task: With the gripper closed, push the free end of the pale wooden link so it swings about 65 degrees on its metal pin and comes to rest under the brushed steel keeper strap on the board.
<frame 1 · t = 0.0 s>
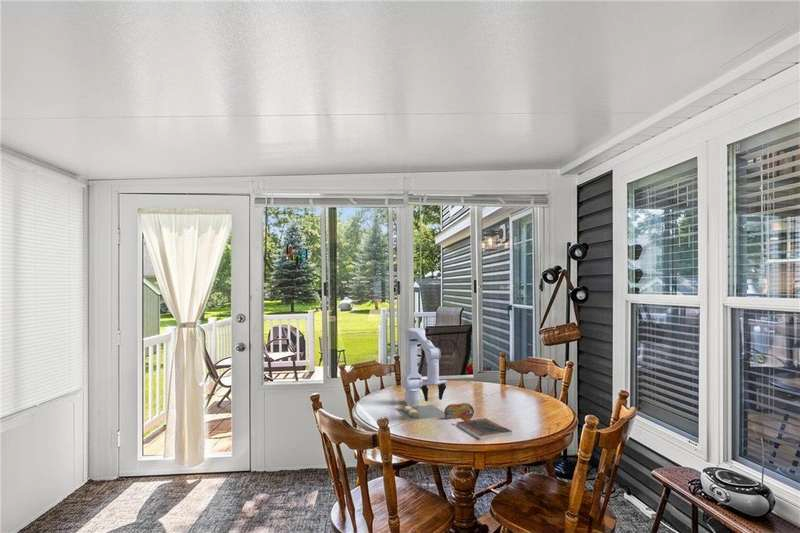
hand: (433, 400, 221), 10 cm above the table, tool pointing down, fingers open, 7 cm apart
tin: (458, 421, 220), on the table
picture frame: (483, 432, 206), on the table
link: (410, 409, 229), point 3 cm above the table, hinge at 0.0°
keeper: (416, 409, 234), resting on board
board: (421, 415, 230), on the table
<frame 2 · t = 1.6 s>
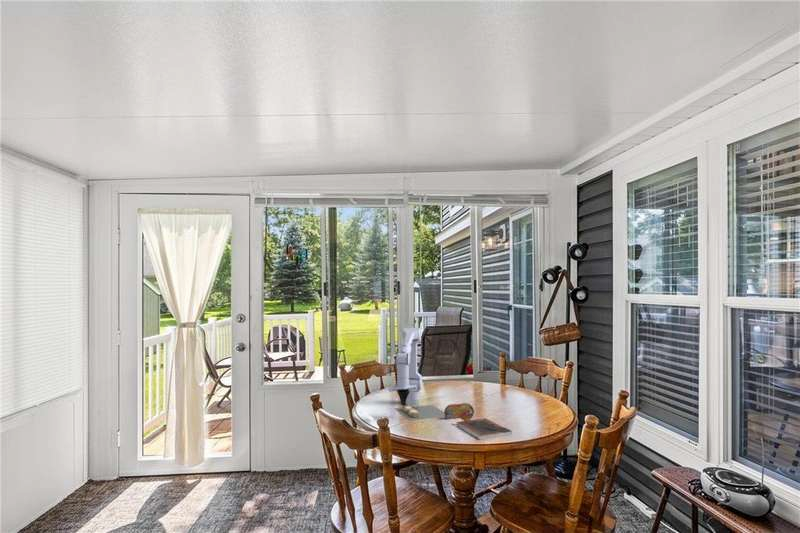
hand: (403, 404, 221), 8 cm above the table, tool pointing down, fingers closed
nothing on the table moved.
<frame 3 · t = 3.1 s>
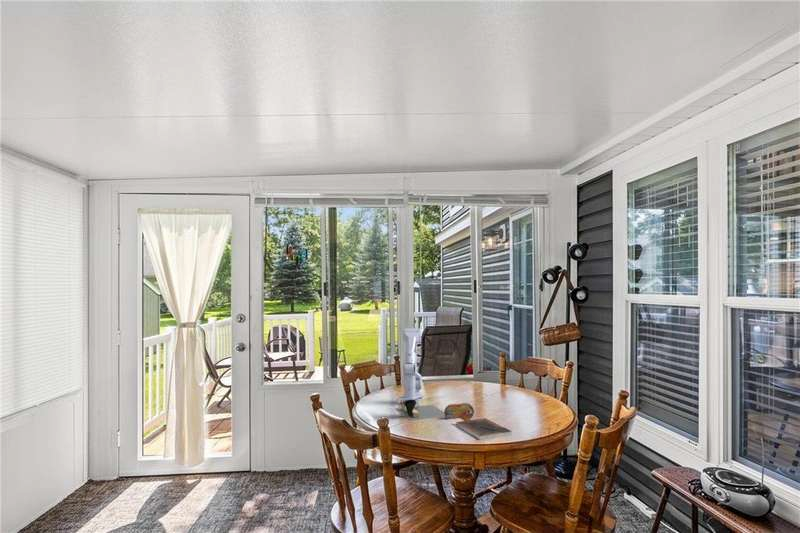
hand: (409, 415, 222), 2 cm above the table, tool pointing down, fingers closed
link: (410, 409, 229), point 3 cm above the table, hinge at 0.6°, touching gripper
everything else where it was.
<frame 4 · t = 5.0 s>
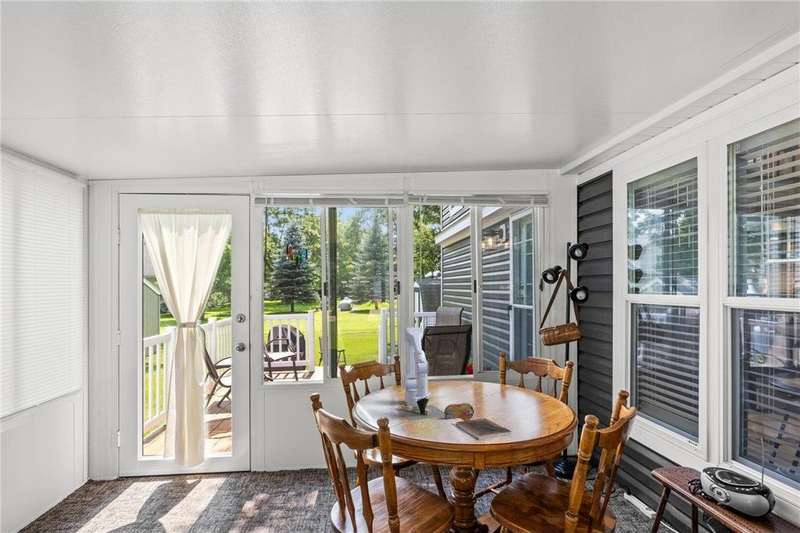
hand: (422, 413, 225), 2 cm above the table, tool pointing down, fingers closed
link: (415, 408, 231), point 3 cm above the table, hinge at 31.7°, touching gripper
everything else where it was.
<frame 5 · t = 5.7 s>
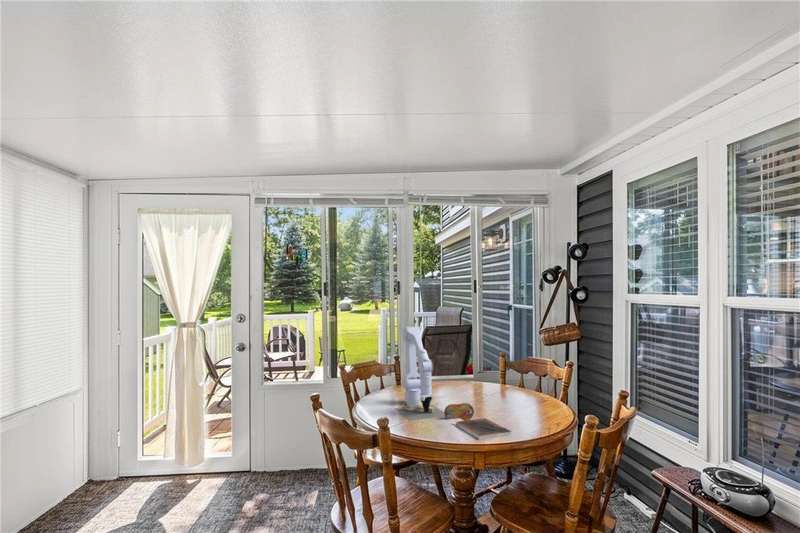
hand: (426, 411, 228), 2 cm above the table, tool pointing down, fingers closed
link: (417, 407, 232), point 3 cm above the table, hinge at 49.1°, touching gripper
everything else where it was.
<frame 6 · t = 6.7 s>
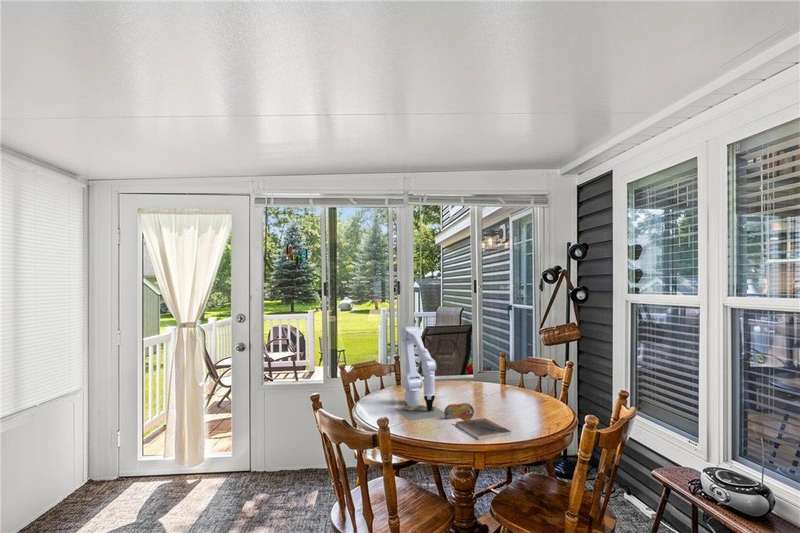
hand: (429, 410, 231), 2 cm above the table, tool pointing down, fingers closed
link: (418, 406, 234), point 3 cm above the table, hinge at 65.8°, touching gripper
everything else where it was.
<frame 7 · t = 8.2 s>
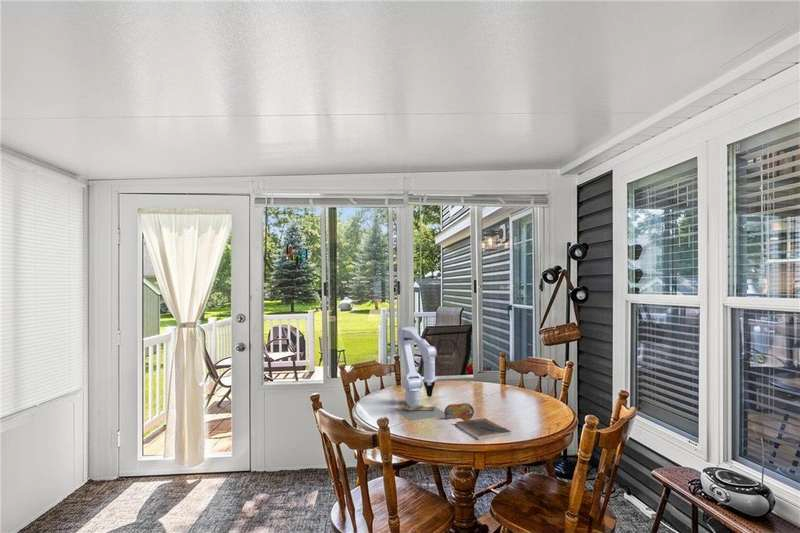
hand: (429, 396, 232), 9 cm above the table, tool pointing down, fingers closed
link: (418, 406, 234), point 3 cm above the table, hinge at 66.1°
everything else where it was.
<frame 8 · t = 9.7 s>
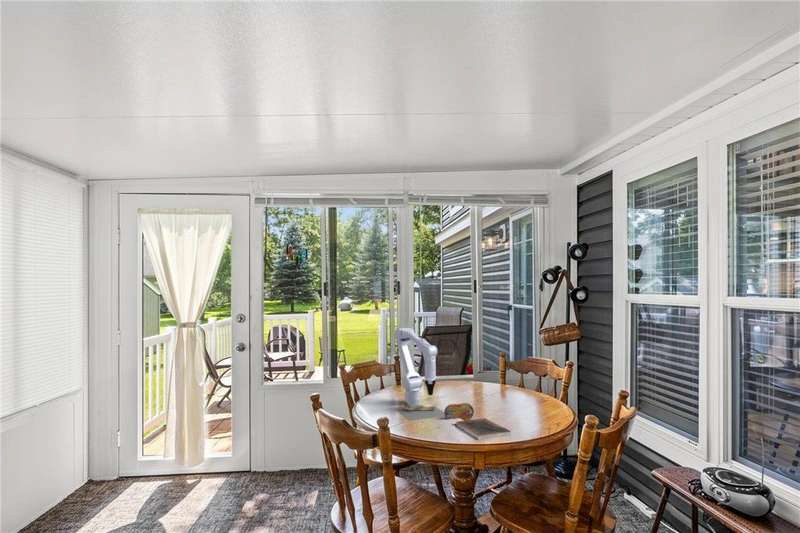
hand: (430, 394, 234), 9 cm above the table, tool pointing down, fingers closed
nothing on the table moved.
at the end: link at +66° (first picture: +0°); tin moved 0.3 cm from its start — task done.
